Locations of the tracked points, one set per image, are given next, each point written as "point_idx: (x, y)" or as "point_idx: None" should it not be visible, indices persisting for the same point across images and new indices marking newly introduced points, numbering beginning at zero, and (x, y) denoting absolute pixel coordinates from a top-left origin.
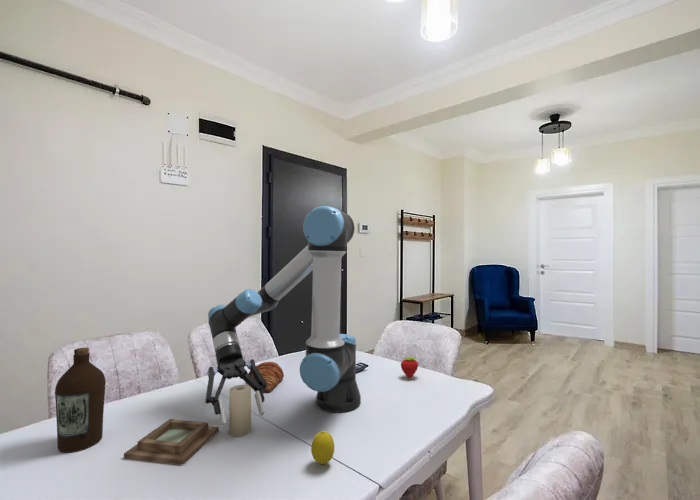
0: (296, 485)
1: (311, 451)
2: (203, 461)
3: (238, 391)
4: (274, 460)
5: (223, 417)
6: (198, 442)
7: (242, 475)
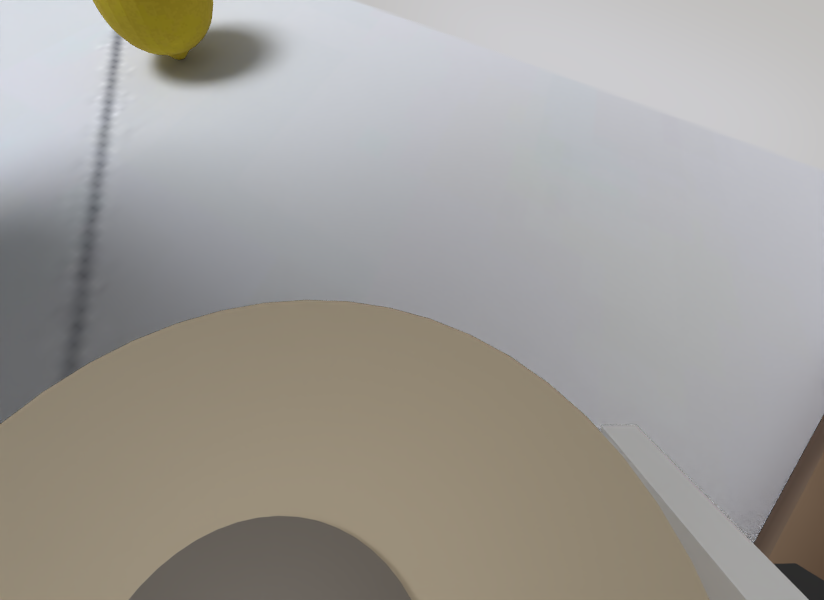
0: (339, 26)
1: (198, 7)
2: (710, 335)
3: (424, 444)
4: (332, 158)
5: (655, 458)
6: (814, 555)
7: (507, 140)
